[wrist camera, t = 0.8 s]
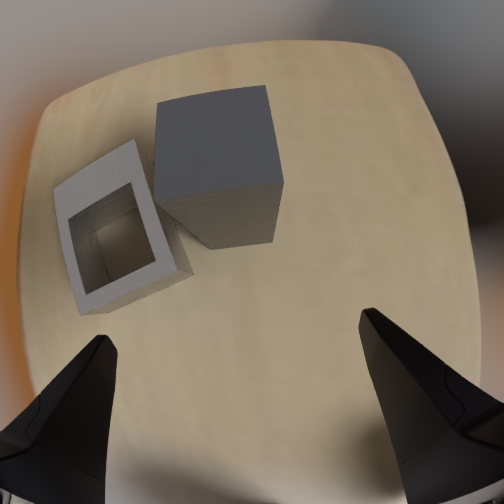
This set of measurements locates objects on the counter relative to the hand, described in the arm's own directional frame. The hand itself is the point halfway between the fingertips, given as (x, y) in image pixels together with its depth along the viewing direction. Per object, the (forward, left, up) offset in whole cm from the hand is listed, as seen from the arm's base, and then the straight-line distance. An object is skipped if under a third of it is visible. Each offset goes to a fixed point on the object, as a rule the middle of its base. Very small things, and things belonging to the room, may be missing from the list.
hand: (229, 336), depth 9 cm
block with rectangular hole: (-1, +13, -13) cm, 18 cm away
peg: (+6, +5, -13) cm, 15 cm away
